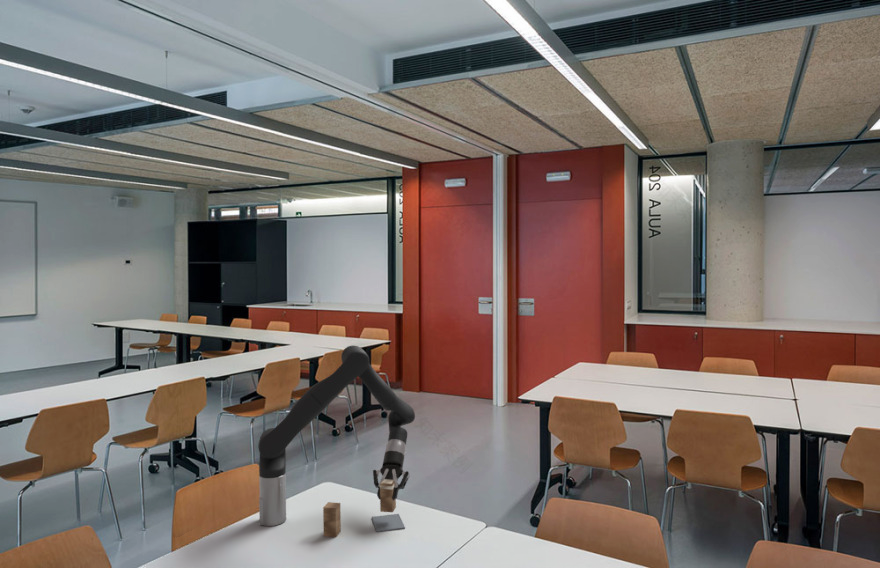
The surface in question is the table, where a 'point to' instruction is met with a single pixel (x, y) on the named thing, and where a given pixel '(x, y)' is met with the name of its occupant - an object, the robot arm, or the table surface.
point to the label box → (387, 496)
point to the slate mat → (388, 522)
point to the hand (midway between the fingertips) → (386, 498)
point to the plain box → (332, 519)
